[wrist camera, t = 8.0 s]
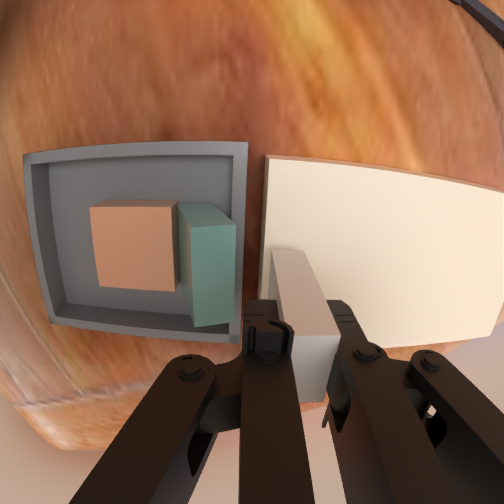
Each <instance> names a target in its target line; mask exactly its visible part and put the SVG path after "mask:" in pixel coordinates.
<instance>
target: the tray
mask: <svg viewBox="0 0 504 504" xmlns="http://www.w3.org/2000/svg"><path fill="white" fill-rule="evenodd" d="M247 162H248V142H242V141H152V142H131V143H115V144H102V145H91V146H81V147H71V148H63V149H55V150H47V151H41V152H35V153H29V154H24V155H23V170H24V185H25V197H26V206H27V215H28V222H29V229H30V236H31V242H32V248H33V253H34V259H35V264H36V269H37V273H38V278H39V282H40V286H41V291H42V295H43V299H44V302H45V306H46V310H47V313H48V317H49V320H50V323H53V324H58V325H64V326H70V327H76V328H82V329H89V330H95V331H102V332H110V333H117V334H125V335H134V336H142V337H152V338H162V339H173V340H185V341H198V342H214V343H233V344H240V334H241V308H242V281H243V256H244V231H245V208H246V185H247ZM136 199H157V200H179V203H193V202H212V203H213V204H214V205H215V206H216V207H217V208H218V209H220V210H221V211H222V212H223V213H224V214H225V215H226V216H227V217H228V218H229V219H231V220H232V221H233V222H234V223H235V224H236V248H235V292H234V322H230V323H223V324H216V325H209V326H202V327H194V324H193V321H192V319H191V316H190V313H189V310H188V307H187V304H186V301H185V298H184V294H183V291H182V288H181V285H180V282H179V284H178V286H177V289H176V291H175V292H171V291H156V290H141V289H128V288H115V287H103V286H99V280H98V274H97V268H96V261H95V254H94V246H93V238H92V229H91V220H90V208H89V207H91V206H93V205H95V204H97V203H99V202H101V201H102V200H136Z"/></svg>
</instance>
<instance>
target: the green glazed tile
mask: <svg viewBox="0 0 504 504" xmlns="http://www.w3.org/2000/svg"><path fill="white" fill-rule="evenodd" d="M177 234H178V259H179V278H180V285H181V288H182V291H183V294H184V298H185V301H186V304H187V307H188V310H189V313H190V316H191V319H192V321H193V324H194V327H202V326H209V325H216V324H223V323H230V322H234V292H235V248H236V224H235V223H234V222H233V221H232V220H231V219H229V218H228V217H227V216H226V215H225V214H224V213H223V212H222V211H221V210H220V209H218V208H217V207H216V206H215V205H214V204H213V203H212V202H193V203H177Z"/></svg>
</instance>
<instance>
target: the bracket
mask: <svg viewBox="0 0 504 504" xmlns="http://www.w3.org/2000/svg"><path fill="white" fill-rule="evenodd" d="M451 1H452V2H454V3H456V4H458V5H459V4H460V5H461V6H462V7H463V8H464V9H465V10H466V11H467V12H468V13H470V14H471V15H472V16H473V17H474V18H475V19H476V20H477V21H478V22H479V23H480V24H481V25H482V26H483V27H484V28H485V29H486V30H487V31H488V32H489V33H490V34H491V35H492V36H493V37H494V38H495V39H496V41H497V42H498V43H499V44H500V45H501V46H502V47H503V48H504V20H502V19H501V18H500V17H499V16H497V15H496V14H495V13H494V12H492V11H491V10H490V9H489V8H487V7H486V6H485V5H483V4H482V3H481V2H479V1H478V0H451Z"/></svg>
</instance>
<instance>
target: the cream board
mask: <svg viewBox="0 0 504 504" xmlns="http://www.w3.org/2000/svg"><path fill="white" fill-rule="evenodd" d="M272 249H273V250H297V251H304V252H305V254H306V256H307V258H308V261H309V263H310V265H311V267H312V270H313V272H314V274H315V276H316V278H317V281H318V283H319V285H320V288H321V290H322V292H323V294H324V297H325V299H326V300H342V301H343V302H345V303H346V304H347V305H349V306H350V307H351V309H352V311H353V313H354V316H355V317H356V319H357V322H359V324H360V326H361V328H362V330H363V332H364V334H365V336H366V338H367V340H368V341H369V342H372V343H375V344H377V345H378V346H380V347H381V348H390V347H403V346H414V345H424V344H434V343H442V342H450V341H458V340H465V339H472V338H479V337H485V336H490V334H491V332H492V330H493V327H494V325H495V322H496V320H497V317H498V315H499V312H500V310H501V307H502V304H503V302H504V191H502V190H499V189H497V188H493V187H489V186H485V185H480V184H476V183H472V182H467V181H463V180H458V179H453V178H448V177H443V176H438V175H433V174H428V173H422V172H417V171H411V170H405V169H399V168H392V167H386V166H379V165H371V164H364V163H356V162H348V161H339V160H329V159H319V158H308V157H296V156H283V155H267V154H265V168H264V186H263V204H262V221H261V238H260V255H259V272H258V288H257V299H268V290H269V277H270V264H271V250H272Z"/></svg>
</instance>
